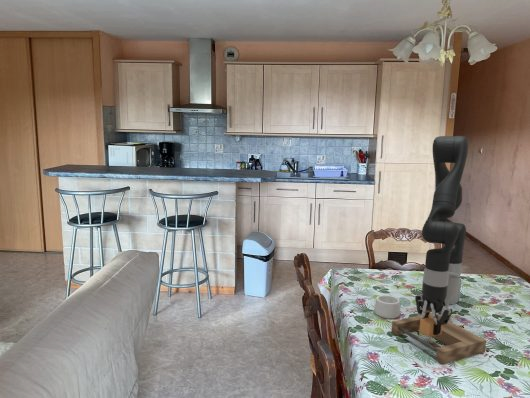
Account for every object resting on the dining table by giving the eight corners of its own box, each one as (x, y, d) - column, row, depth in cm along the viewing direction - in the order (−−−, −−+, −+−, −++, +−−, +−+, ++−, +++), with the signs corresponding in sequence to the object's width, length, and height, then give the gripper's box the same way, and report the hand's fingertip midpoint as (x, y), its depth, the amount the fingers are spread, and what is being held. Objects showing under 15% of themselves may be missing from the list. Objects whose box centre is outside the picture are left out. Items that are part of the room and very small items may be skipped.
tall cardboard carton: (432, 328, 140) (433, 316, 139) (441, 334, 137) (443, 321, 136) (419, 331, 138) (420, 319, 137) (428, 337, 134) (429, 324, 133)
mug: (395, 321, 153) (396, 306, 152) (370, 314, 159) (371, 299, 158) (405, 310, 163) (406, 296, 162) (381, 304, 168) (382, 290, 167)
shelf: (431, 322, 153) (432, 312, 152) (484, 351, 133) (486, 340, 133) (391, 332, 145) (392, 321, 144) (442, 364, 125) (443, 352, 125)
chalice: (455, 318, 157) (459, 273, 154) (456, 326, 150) (462, 279, 147) (434, 315, 159) (438, 270, 156) (435, 323, 153) (439, 276, 150)
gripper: (462, 287, 130) (456, 339, 132) (426, 273, 142) (422, 320, 145) (444, 291, 126) (439, 343, 129) (410, 276, 139) (406, 324, 142)
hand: (430, 331), depth 137 cm, fingers closed on tall cardboard carton, 4 cm apart
